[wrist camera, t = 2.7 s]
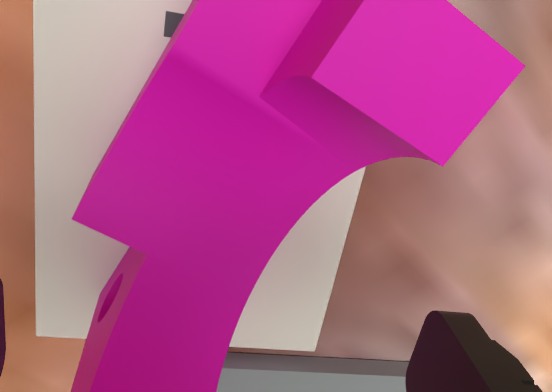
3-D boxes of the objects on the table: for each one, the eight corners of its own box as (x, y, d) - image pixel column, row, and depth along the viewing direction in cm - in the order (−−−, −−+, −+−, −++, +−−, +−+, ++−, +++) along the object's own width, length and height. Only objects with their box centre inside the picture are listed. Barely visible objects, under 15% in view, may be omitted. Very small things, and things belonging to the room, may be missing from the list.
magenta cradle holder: (249, -99, 15) (284, -134, 9) (401, 21, 18) (525, 66, 11) (38, 268, 20) (-44, 431, 13) (181, 328, 22) (173, 494, 15)
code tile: (37, 332, 21) (35, 336, 21) (33, -184, 14) (31, -186, 14) (314, 348, 24) (314, 351, 24) (433, -88, 16) (436, -89, 16)
